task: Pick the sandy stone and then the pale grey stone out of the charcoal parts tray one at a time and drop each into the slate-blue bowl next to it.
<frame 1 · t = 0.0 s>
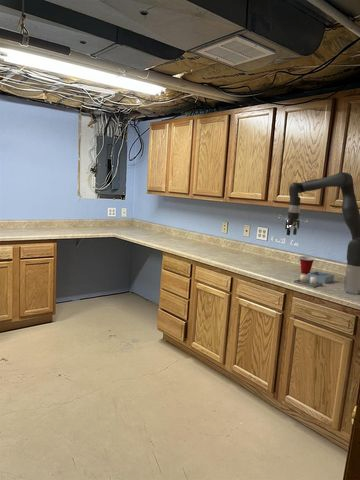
hand: (291, 235, 254), 29 cm above the counter, tool pointing down, fingers open, 8 cm apart
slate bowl: (320, 280, 251), on the counter
sandy stone: (302, 282, 242), resting on parts tray
parts tray: (307, 284, 239), on the counter
plastic cup: (305, 273, 270), on the counter
grey stone: (312, 284, 237), resting on parts tray
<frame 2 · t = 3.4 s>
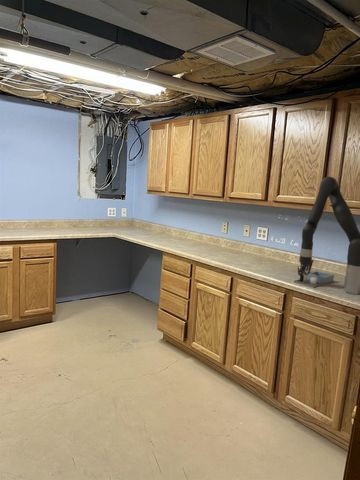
hand: (303, 280, 241), 1 cm above the counter, tool pointing down, fingers closed on sandy stone, 4 cm apart
sandy stone: (302, 282, 242), resting on parts tray, touching gripper
everything else where it was.
when the fingers open (9 cm above the counter, at t = 6.8 s): sandy stone drops 6 cm and tips over, resting on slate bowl.
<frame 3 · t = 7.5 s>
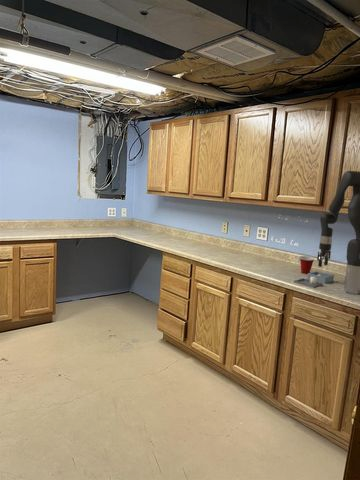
hand: (322, 266, 250), 10 cm above the counter, tool pointing down, fingers open, 8 cm apart
sandy stone: (320, 277, 250), point 2 cm above the counter, tilted 90°, touching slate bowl
everything else where it was.
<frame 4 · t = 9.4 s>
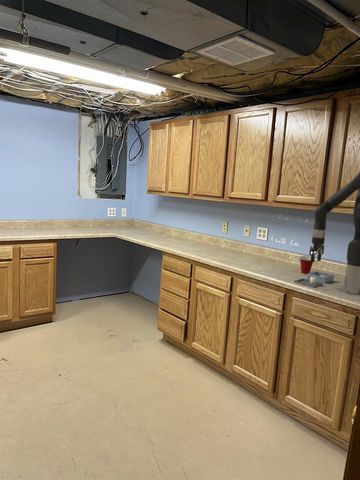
hand: (315, 261, 234), 16 cm above the counter, tool pointing down, fingers open, 8 cm apart
sandy stone: (323, 277, 248), point 2 cm above the counter, tilted 90°, touching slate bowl
everything else where it was.
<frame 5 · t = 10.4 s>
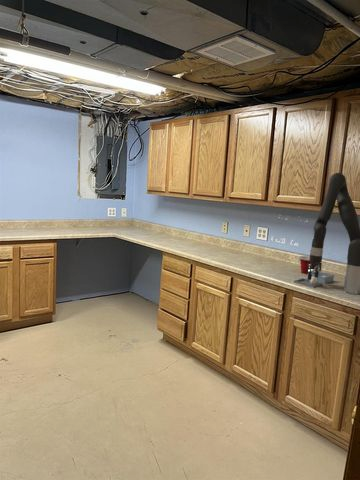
hand: (312, 278, 237), 4 cm above the counter, tool pointing down, fingers open, 8 cm apart
sandy stone: (324, 278, 248), point 2 cm above the counter, tilted 90°, touching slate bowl
everything else where it was.
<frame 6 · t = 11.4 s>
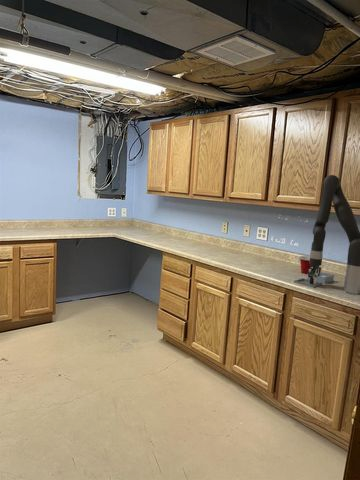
hand: (313, 283, 236), 1 cm above the counter, tool pointing down, fingers closed on grey stone, 4 cm apart
grey stone: (312, 284, 237), resting on parts tray, touching gripper
everything else where it was.
when the fingers open (9 cm above the counter, at t = 14.7 s): grey stone drops 6 cm and tips over, resting on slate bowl.
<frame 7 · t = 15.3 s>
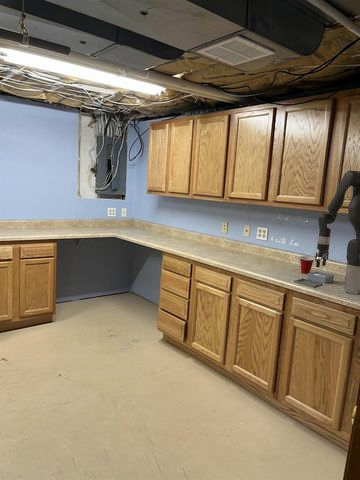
hand: (320, 266, 248), 10 cm above the counter, tool pointing down, fingers open, 8 cm apart
grey stone: (321, 277, 248), point 2 cm above the counter, tilted 90°, touching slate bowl
everything else where it was.
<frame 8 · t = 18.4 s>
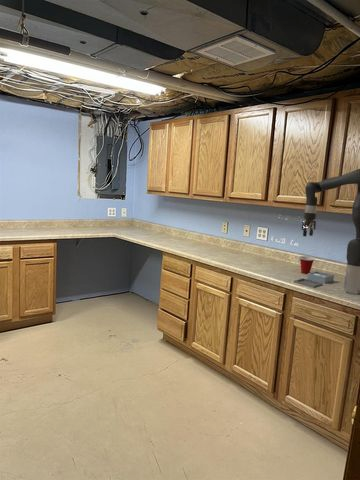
hand: (307, 236, 248), 30 cm above the counter, tool pointing down, fingers open, 8 cm apart
nothing on the counter moved.
at the end: sandy stone inside the target area on the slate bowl (3.4 cm from its centre), point 2.5 cm above the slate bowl's base; grey stone inside the target area on the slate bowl (2.1 cm from its centre), point 2.5 cm above the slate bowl's base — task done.
